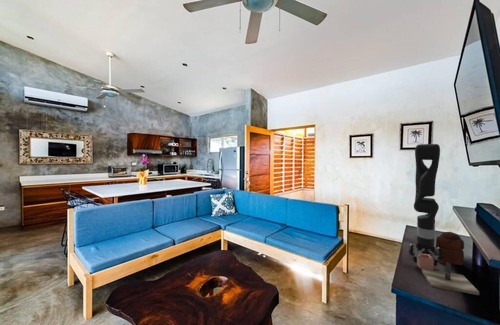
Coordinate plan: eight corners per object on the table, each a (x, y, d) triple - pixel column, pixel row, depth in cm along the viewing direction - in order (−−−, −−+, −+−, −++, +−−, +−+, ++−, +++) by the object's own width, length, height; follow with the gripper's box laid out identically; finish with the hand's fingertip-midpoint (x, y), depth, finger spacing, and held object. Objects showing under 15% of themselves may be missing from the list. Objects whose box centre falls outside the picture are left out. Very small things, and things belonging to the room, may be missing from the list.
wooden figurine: (456, 260, 124) (457, 230, 123) (465, 266, 118) (466, 235, 117) (433, 258, 127) (433, 229, 126) (440, 264, 121) (441, 233, 120)
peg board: (421, 271, 115) (422, 254, 114) (462, 277, 108) (463, 259, 107) (431, 286, 102) (432, 267, 101) (479, 295, 95) (479, 274, 95)
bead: (416, 262, 123) (416, 252, 123) (429, 264, 121) (429, 254, 120) (419, 268, 117) (420, 257, 117) (433, 270, 115) (433, 259, 115)
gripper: (438, 235, 118) (438, 263, 119) (407, 231, 124) (407, 258, 125) (444, 240, 112) (444, 270, 112) (411, 236, 117) (411, 264, 118)
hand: (424, 264), depth 119 cm, fingers open, 8 cm apart
